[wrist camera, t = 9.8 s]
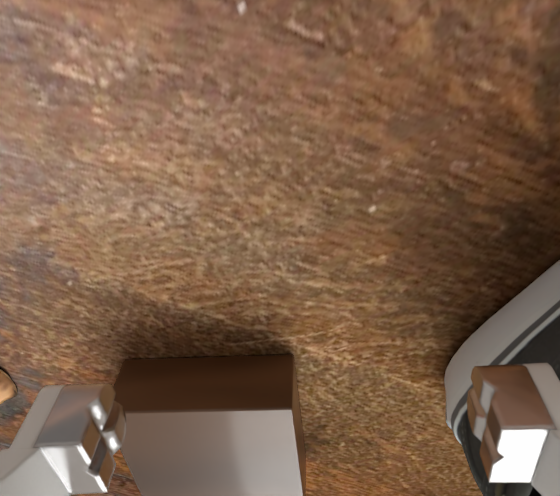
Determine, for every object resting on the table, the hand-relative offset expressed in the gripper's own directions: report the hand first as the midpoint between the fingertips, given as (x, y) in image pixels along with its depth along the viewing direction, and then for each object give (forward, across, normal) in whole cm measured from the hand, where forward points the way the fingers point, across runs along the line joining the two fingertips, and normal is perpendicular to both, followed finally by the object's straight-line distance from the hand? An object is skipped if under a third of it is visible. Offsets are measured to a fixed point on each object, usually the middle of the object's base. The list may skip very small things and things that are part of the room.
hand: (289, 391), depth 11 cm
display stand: (+8, +5, +12) cm, 15 cm away
